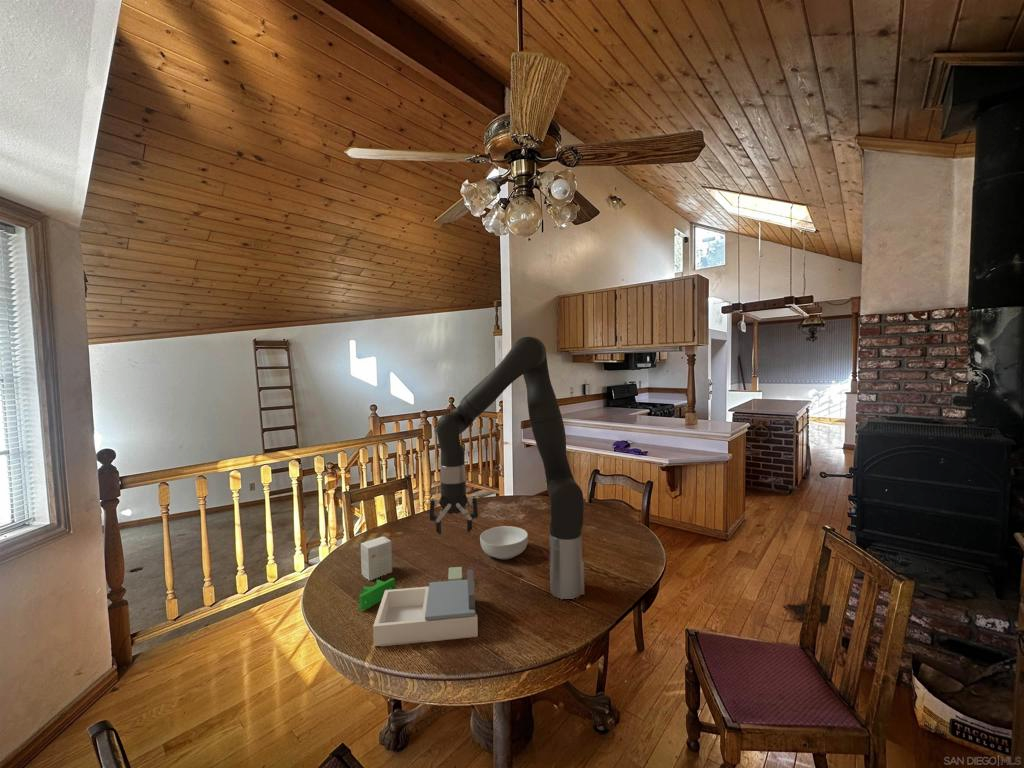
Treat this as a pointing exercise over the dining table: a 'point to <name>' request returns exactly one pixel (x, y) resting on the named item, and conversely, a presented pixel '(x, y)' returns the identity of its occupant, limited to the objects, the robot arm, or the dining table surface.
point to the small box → (376, 558)
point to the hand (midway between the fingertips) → (454, 532)
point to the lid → (451, 598)
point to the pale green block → (455, 573)
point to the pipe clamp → (375, 593)
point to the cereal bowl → (504, 541)
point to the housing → (416, 620)
